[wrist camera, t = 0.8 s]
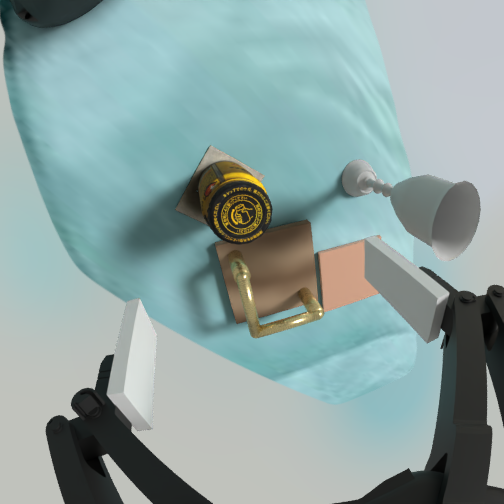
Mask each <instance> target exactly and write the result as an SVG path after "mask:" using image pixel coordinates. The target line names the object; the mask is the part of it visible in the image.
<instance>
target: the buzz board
mask: <svg viewBox="0 0 504 504" xmlns="http://www.w3.org/2000/svg"><path fill="white" fill-rule="evenodd" d="M215 246H216V250H217V254H218V258H219V262H220V265H221V269H222V273H223V276H224V280H225V284H226V287H227V291H228V295H229V298H230V302H231V306H232V309H233V313H234V316H235V320H236V323H237V324H238V323H242V322H246V321H247V320H246V316H245V312H244V308H243V304H242V300H241V296H240V293H239V289H238V285H237V283H236V282H235V280H234V277H233V273H232V270H231V267H230V263H229V260H228V255H229V253H230V252H231V251H233V250H238V251H240V252H241V253H242V255H243V257H244V260H245V262H246V265H247V267H248V270H249V272H250V275H251V278H250V283H251V288H252V292H253V296H254V301H255V305H256V310H257V314H258V318H260V317H264V316H267V315H271V314H275V313H278V312H282V311H285V310H288V309H292V308H295V307H299V306H302V305H303V303H302V302H301V300H300V298H299V297H298V292H299V290H300V289H301V288H304V287H306V288H308V289H309V290H310V291H311V293H312V294H313V295H314V297H315V298H316V300H317V301H318V292H317V281H316V270H315V260H314V250H313V241H312V232H311V223H310V222H309V221H308V220H303V221H299V222H294V223H290V224H286V225H282V226H278V227H274V228H270V229H267V230H266V231H265V233H264V234H263V235H262V236H261V237H259V238H257V239H256V240H254V241H253V242H251V243H248V244H241V245H237V244H231V243H228V242H226V241H224V240H223V241H219V242H215Z"/></svg>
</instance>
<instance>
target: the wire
mask: <svg viewBox="0 0 504 504" xmlns="http://www.w3.org/2000/svg"><path fill="white" fill-rule="evenodd" d="M228 260H229V263H230V267H231V270H232V273H233V277H234V280H235V282H236V283H237V285H238V289H239V293H240V296H241V300H242V304H243V308H244V312H245V316H246V320H247V324H248V328H249V332H250V335H251V336H252V337H253V338H260V337H263V336H267V335H270V334H274V333H277V332H281V331H284V330H287V329H291V328H294V327H297V326H301V325H304V324H307V323H310V322H313V321H316V320H320V319H321V318H322V317H323V315H324V310H323V308H322V307H321V305H320V304H319V303H318V301H317V300H316V298H315V297H314V295H313V294H312V293H311V291H310V290H309V289H308V288H306V287H304V288H301V289H300V290H299V292H298V297H299V298H300V300H301V302H302V303H303V305H304V306H305V308H306V310H307V311H308V312H305V313H302V314H298V315H295V316H292V317H288V318H285V319H281V320H278V321H274V322H271V323H267V324H264V325H260V323H259V319H258V314H257V310H256V305H255V301H254V296H253V292H252V288H251V283H250V278H251V275H250V272H249V270H248V267H247V265H246V262H245V260H244V257H243V255H242V253H241V252H240V251H238V250H233V251H231V252H230V253H229V255H228Z"/></svg>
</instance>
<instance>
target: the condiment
mask: <svg viewBox="0 0 504 504" xmlns="http://www.w3.org/2000/svg"><path fill="white" fill-rule="evenodd" d="M263 178H264V175H262V174H261V173H259V172H257V171H256V170H254V169H252V168H250V167H249V166H247V165H245V164H243V163H242V162H240V161H238V160H236V159H234V158H233V157H231V156H229V155H227V154H225V153H224V152H222V151H220V150H218V149H216V148H214V147H213V146H210V147H209V149H208V151H207V152H206V154H205V156H204V157H203V159H202V161H201V163H200V165H199V166H198V168H197V170H196V172H195V173H194V175H193V177H192V179H191V181H190V183H189V185H188V186H187V188H186V190H185V192H184V194H183V195H182V197H181V199H180V201H179V203H178V205H177V207H176V209H175V210H176V211H178V212H180V213H183V214H185V215H187V216H189V217H191V218H193V219H196V220H198V221H200V222H202V223H204V224H206V225H208V226H210V228H211V229H212V231H213V232H214V234H216V235H217V236H218V237H219V238H220V239H222V240H224V241H226V242H228V243H231V244H237V245H241V244H248V243H251V242H253V241H254V240H256V239H257V238H259V237H261V236H262V235H263V234H264V233H265V231H266V230H267V228H268V226H269V224H270V222H271V216H272V205H271V202H270V199H269V197H268V195H267V192H266V189H265V188H264V186H263V185H262V183H261V181H262V179H263ZM197 191H198V192H197Z"/></svg>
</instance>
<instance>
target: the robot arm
mask: <svg viewBox="0 0 504 504" xmlns="http://www.w3.org/2000/svg"><path fill="white" fill-rule="evenodd" d="M10 1H11V4H12V6H13V8H14V10H15V12H16V14H17V15H18V17H19V18H21V19H22V20H23V21H25V22H27V23H29V24H31V25H33V26H36V27H43V28H45V27H54V26H58V25H62V24H65V23H67V22H70V21H72V20H74V19H76V18H78V17H80V16H82V15H83V14H85V13H86V12H88V11H89V10H91V9H92V8H94V7H95V6H96V5H97V4H99V3H100V2H101V1H102V0H10ZM364 247H365V273H364V278H365V279H366V280H367V281H368V282H369V283H370V284H371V285H372V286H373V287H374V288H375V289H376V290H377V291H378V292H379V293H380V294H381V295H382V296H383V297H384V298H385V299H386V300H387V301H388V302H389V303H390V304H391V306H392V307H393V308H394V309H395V310H396V311H397V312H398V313H399V314H400V315H401V316H402V317H403V318H404V319H405V320H406V321H407V322H408V323H409V324H410V326H411V327H412V328H413V329H414V330H415V331H416V332H417V333H418V334H419V335H420V336H421V337H422V339H423V340H424V341H425V342H426V343H429V342H431V341H433V340H435V339H437V338H438V336H439V333H440V329H442V330H443V331H444V332H445V335H444V339H443V342H442V345H441V349H442V348H443V368H442V381H441V391H440V400H439V408H438V416H437V422H436V429H435V434H434V440H433V445H432V450H431V454H430V457H429V460H428V462H427V464H426V467H425V470H424V471H417V472H411V471H410V469H409V468H408V469H407V470H405V471H403V472H401V473H399V474H397V475H395V476H393V477H391V478H389V479H387V480H385V481H384V482H382V483H381V484H380V485H378V486H377V487H376V488H375V489H373V490H372V491H371V492H369V493H368V494H366V495H365V496H364V497H362V498H361V499H358V500H353V501H348V502H341V503H334V504H504V489H502V488H497V487H493V486H488V485H487V480H488V473H489V466H490V456H491V446H492V445H491V444H492V427H491V426H488V425H487V373H486V363H487V366H488V369H489V373H490V376H491V379H492V382H493V386H494V389H495V393H496V397H497V400H498V404H499V409H500V412H501V416H502V421H503V426H504V288H503V287H502V286H499V285H492V286H490V287H489V288H488V290H487V294H486V295H482V296H476V295H475V294H473V293H471V292H469V291H460V292H458V291H457V290H456V289H454V288H453V287H452V286H451V285H449V284H448V283H447V282H445V281H444V280H443V279H441V278H440V277H439V276H437V275H436V274H435V273H434V272H433V271H431V270H430V269H427V268H425V267H419V268H418V267H417V266H416V265H414V264H413V263H412V262H410V261H409V260H408V259H406V258H405V257H404V256H402V255H401V254H400V253H398V252H397V251H396V250H394V249H393V248H392V247H390V246H389V245H388V244H386V243H385V242H383V241H382V240H381V239H379V238H378V237H376V236H371V237H368V238H364ZM156 342H157V335H156V332H155V330H154V328H153V326H152V324H151V322H150V320H149V317H148V315H147V313H146V311H145V309H144V307H143V304H142V302H141V300H140V298H138V299H134V300H130V301H127V304H126V308H125V312H124V316H123V320H122V324H121V328H120V332H119V337H118V341H117V345H116V350H115V354H113V355H107V356H106V357H105V358H104V360H103V361H102V363H101V365H100V369H99V374H98V380H97V382H96V387H95V390H93V389H91V388H85V389H82V390H80V391H79V392H77V393H76V394H75V395H74V397H73V399H72V402H71V406H72V409H73V410H74V411H75V412H76V413H77V414H78V416H79V417H77V418H75V419H72V420H69V421H68V420H67V418H65V417H64V416H60V415H58V416H55V417H53V418H52V419H50V421H49V422H48V423H47V426H46V436H47V441H48V445H49V450H50V454H51V458H52V462H53V466H54V470H55V474H56V477H57V480H58V484H59V487H60V491H61V494H62V497H63V500H64V502H65V504H124V503H123V501H122V499H121V498H120V495H119V493H118V491H117V489H116V487H115V485H114V483H113V481H112V479H111V477H110V474H109V472H108V470H107V468H106V466H105V463H104V461H103V458H102V455H105V454H109V456H110V457H111V458H112V459H113V460H114V462H115V463H116V464H117V465H118V466H119V468H120V469H121V470H122V471H123V472H124V473H125V475H126V476H127V477H128V478H129V479H130V480H131V481H132V482H133V483H134V484H135V486H136V487H137V488H138V489H139V490H140V491H141V492H142V493H143V494H144V495H145V496H146V497H147V498H148V499H149V500H150V501H151V502H152V503H153V504H213V503H211V502H210V501H209V500H207V499H206V498H205V497H203V496H202V495H201V494H199V493H198V492H197V491H196V490H194V489H193V488H192V487H191V486H189V485H188V484H187V483H186V482H184V481H183V480H182V479H181V478H180V477H178V476H177V475H176V474H175V473H174V472H173V471H172V470H170V469H169V468H168V467H167V466H166V465H165V464H163V462H161V461H160V460H159V459H158V458H157V457H156V456H155V455H154V454H153V453H152V452H151V451H150V450H149V449H148V448H147V447H146V446H145V445H144V444H143V443H142V442H141V441H140V440H138V438H137V437H136V436H135V435H134V434H133V433H132V432H131V427H132V426H133V427H134V428H135V429H136V430H137V431H142V430H151V429H153V397H154V374H155V373H154V372H155V356H156ZM443 346H444V347H443Z"/></svg>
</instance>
